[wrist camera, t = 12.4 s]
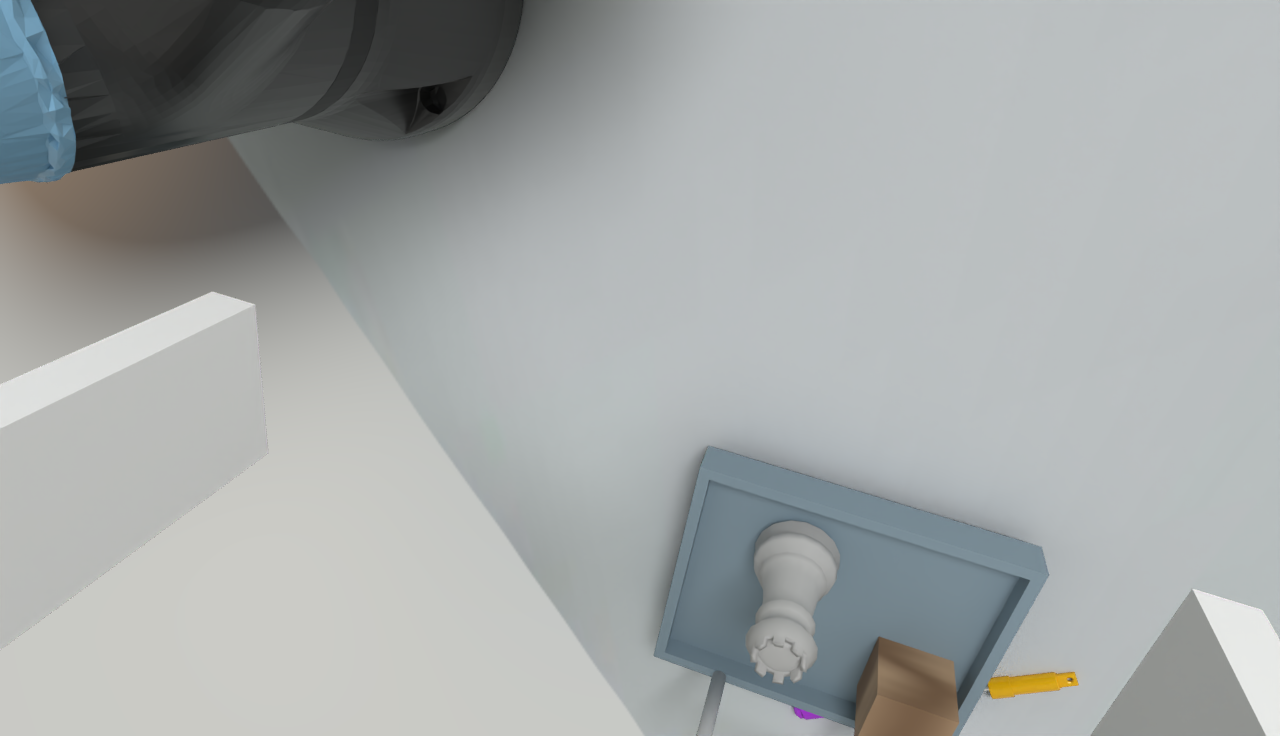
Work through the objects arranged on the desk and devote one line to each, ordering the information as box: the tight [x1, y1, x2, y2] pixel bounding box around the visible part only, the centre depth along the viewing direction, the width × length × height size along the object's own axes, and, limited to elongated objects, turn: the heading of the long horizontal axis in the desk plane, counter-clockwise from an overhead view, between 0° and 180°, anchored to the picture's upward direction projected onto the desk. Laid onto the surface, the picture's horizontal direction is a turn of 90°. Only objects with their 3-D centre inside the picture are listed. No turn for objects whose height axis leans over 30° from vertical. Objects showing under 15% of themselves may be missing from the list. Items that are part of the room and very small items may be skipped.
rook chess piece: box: [746, 520, 840, 685], centre depth 37 cm, size 4×4×8 cm
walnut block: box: [854, 636, 959, 736], centre depth 40 cm, size 4×4×4 cm
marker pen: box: [794, 672, 1079, 719], centre depth 44 cm, size 3×1×16 cm
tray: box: [654, 446, 1049, 736], centre depth 39 cm, size 14×17×10 cm
